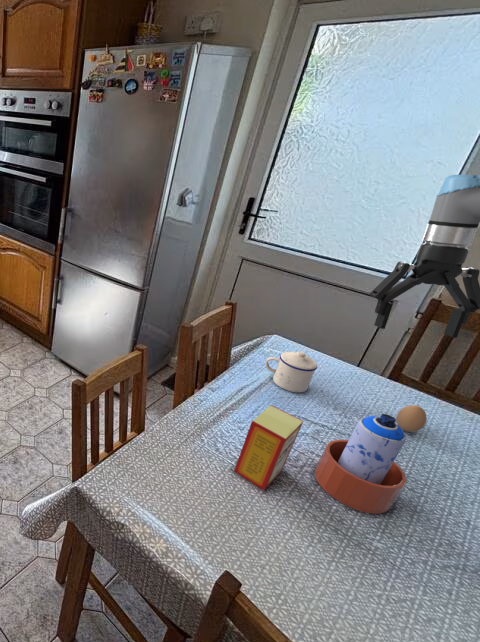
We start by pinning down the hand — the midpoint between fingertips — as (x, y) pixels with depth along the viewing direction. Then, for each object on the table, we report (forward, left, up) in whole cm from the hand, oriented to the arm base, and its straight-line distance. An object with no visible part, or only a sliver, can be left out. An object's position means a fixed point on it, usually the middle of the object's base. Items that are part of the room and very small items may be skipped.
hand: (413, 331), depth 99 cm
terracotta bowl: (+3, +29, -29) cm, 41 cm away
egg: (-8, -3, -29) cm, 31 cm away
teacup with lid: (+19, -7, -29) cm, 36 cm away
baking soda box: (+20, +37, -29) cm, 51 cm away
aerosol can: (+3, +29, -29) cm, 41 cm away
